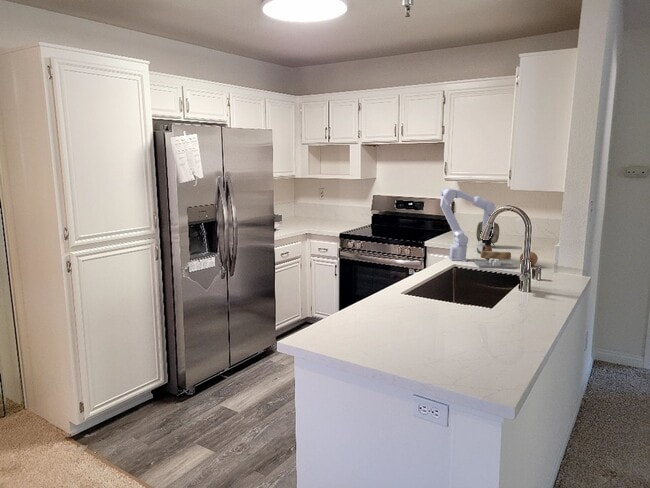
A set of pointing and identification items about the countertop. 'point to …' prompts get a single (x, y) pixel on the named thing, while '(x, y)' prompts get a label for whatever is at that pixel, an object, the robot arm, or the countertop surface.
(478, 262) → the stand
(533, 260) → the onion
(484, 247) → the gun
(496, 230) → the tabletop clock
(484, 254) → the bar
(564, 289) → the countertop surface
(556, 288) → the countertop surface
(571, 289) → the countertop surface
